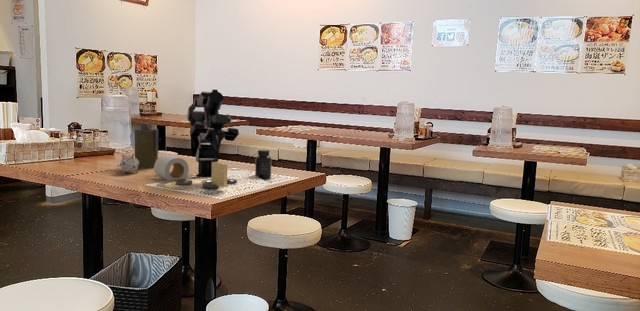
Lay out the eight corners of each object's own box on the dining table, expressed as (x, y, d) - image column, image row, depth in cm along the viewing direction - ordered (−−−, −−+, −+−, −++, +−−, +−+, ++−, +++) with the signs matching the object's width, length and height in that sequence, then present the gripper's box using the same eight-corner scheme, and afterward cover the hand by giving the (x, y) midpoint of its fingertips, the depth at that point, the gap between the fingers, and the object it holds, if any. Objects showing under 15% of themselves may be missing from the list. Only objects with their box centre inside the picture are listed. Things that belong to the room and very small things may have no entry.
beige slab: (199, 187, 178) (199, 161, 177) (212, 185, 183) (213, 160, 181) (218, 192, 171) (218, 165, 170) (231, 189, 176) (232, 163, 174)
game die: (124, 182, 207) (109, 163, 204) (136, 172, 214) (121, 154, 211) (138, 173, 203) (122, 154, 200) (149, 164, 210) (134, 145, 207)
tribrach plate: (170, 188, 180) (170, 182, 180) (202, 180, 199) (203, 174, 199) (211, 194, 174) (211, 187, 173) (241, 185, 192) (241, 179, 192)
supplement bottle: (273, 177, 213) (274, 150, 212) (267, 179, 207) (268, 151, 205) (258, 176, 215) (259, 148, 213) (252, 178, 208) (253, 150, 207)
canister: (129, 167, 222) (129, 123, 220) (143, 164, 232) (143, 122, 229) (149, 169, 219) (149, 124, 216) (163, 166, 229) (163, 123, 226)
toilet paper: (188, 182, 194) (189, 157, 193) (164, 184, 188) (164, 158, 186) (177, 178, 202) (177, 154, 200) (153, 180, 195) (154, 155, 194)
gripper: (197, 102, 188) (202, 136, 181) (241, 109, 199) (248, 141, 191) (187, 119, 195) (191, 152, 188) (230, 124, 206) (236, 156, 199)
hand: (217, 150), depth 192 cm, fingers closed
